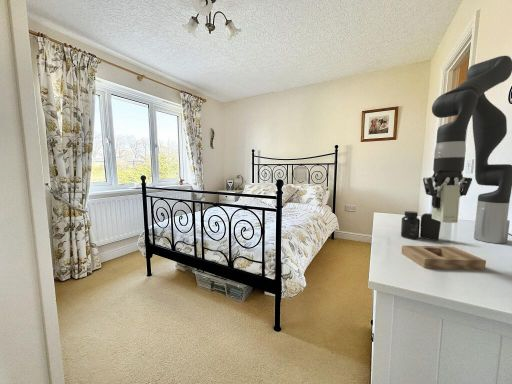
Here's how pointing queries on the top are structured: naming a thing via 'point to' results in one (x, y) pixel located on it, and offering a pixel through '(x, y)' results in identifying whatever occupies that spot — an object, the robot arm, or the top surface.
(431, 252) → the board
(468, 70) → the robot arm
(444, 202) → the skincare box
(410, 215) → the supplement bottle
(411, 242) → the top surface
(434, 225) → the battery charger
